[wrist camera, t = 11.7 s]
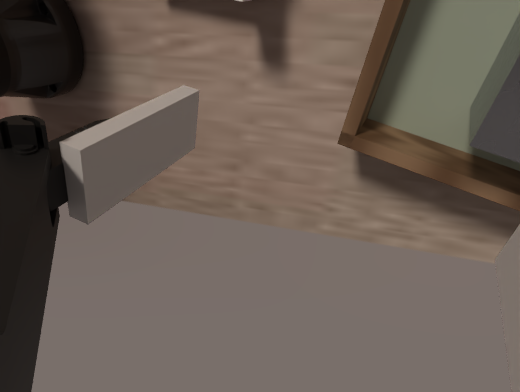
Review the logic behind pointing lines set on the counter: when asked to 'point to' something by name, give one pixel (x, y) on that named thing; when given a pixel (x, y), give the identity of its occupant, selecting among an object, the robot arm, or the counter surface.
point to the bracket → (499, 103)
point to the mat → (443, 69)
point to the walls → (412, 146)
